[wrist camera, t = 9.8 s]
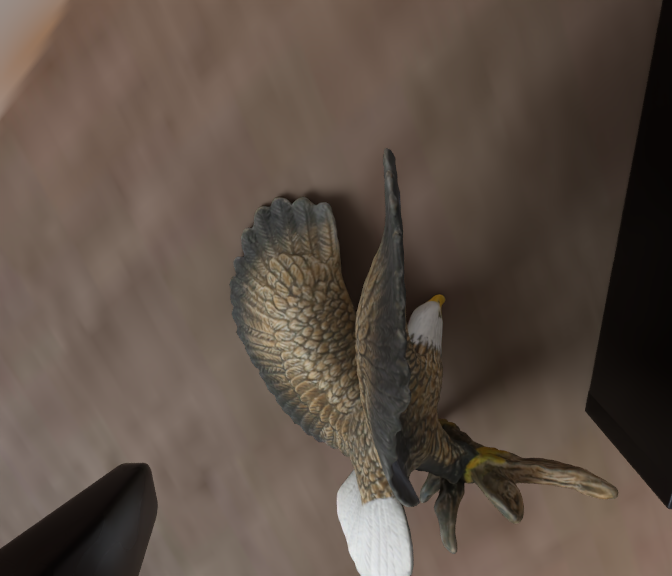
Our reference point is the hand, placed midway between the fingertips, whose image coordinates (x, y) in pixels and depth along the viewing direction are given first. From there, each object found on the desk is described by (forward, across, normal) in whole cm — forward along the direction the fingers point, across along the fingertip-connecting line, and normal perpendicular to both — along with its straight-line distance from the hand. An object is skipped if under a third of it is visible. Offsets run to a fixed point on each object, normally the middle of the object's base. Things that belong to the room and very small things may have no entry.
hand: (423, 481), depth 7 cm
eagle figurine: (+7, 0, 0) cm, 7 cm away
